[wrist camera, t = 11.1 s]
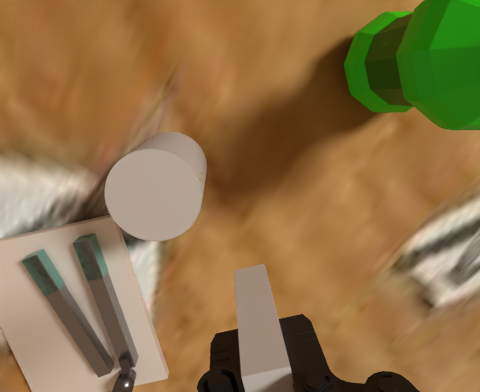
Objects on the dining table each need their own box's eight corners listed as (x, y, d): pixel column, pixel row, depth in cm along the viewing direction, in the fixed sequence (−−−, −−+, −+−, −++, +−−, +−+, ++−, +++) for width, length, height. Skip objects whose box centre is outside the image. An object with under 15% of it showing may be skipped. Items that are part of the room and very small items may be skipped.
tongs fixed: (69, 235, 44) (55, 249, 40) (98, 229, 44) (86, 243, 40) (123, 376, 50) (115, 400, 46) (148, 371, 50) (143, 395, 46)
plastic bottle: (372, -7, 38) (633, -166, 14) (442, 57, 40) (770, 13, 16) (312, 75, 40) (451, 58, 16) (382, 131, 42) (594, 189, 18)
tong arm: (28, 254, 43) (21, 260, 41) (43, 248, 43) (36, 254, 41) (101, 368, 48) (97, 378, 46) (115, 363, 48) (111, 372, 46)
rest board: (-31, 245, 43) (-37, 249, 42) (115, 213, 43) (112, 216, 42) (43, 399, 51) (39, 406, 49) (168, 372, 50) (167, 378, 49)
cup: (174, 213, 44) (158, 258, 32) (121, 167, 42) (84, 197, 30) (221, 166, 42) (221, 195, 31) (169, 116, 40) (148, 127, 29)
